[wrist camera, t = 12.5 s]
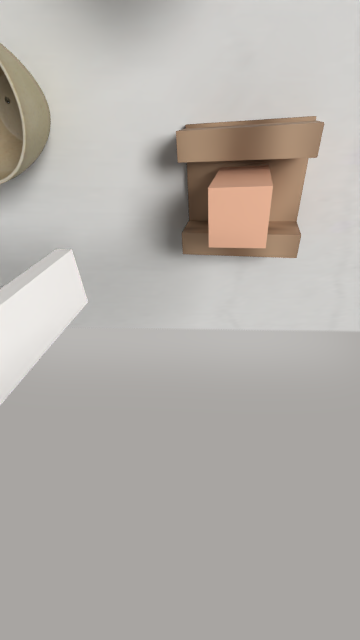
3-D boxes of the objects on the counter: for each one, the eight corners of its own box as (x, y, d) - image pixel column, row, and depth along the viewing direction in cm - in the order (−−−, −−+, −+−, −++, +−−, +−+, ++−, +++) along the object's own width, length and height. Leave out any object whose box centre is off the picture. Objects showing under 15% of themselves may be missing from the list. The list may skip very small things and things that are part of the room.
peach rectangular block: (220, 167, 24) (208, 188, 18) (268, 165, 23) (273, 186, 17) (220, 214, 26) (208, 247, 20) (263, 214, 25) (265, 248, 19)
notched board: (191, 240, 29) (182, 256, 26) (186, 124, 23) (175, 127, 20) (291, 242, 27) (295, 260, 24) (315, 116, 21) (325, 117, 18)
